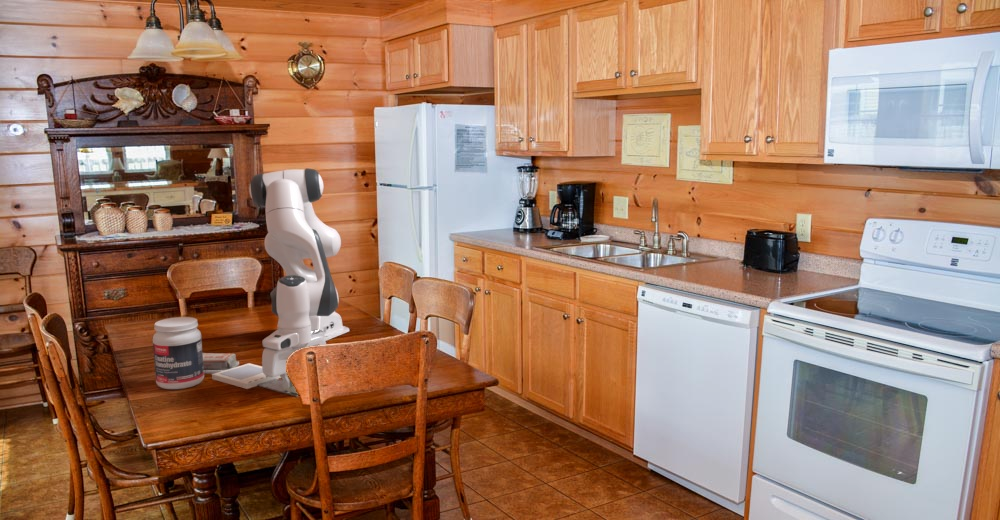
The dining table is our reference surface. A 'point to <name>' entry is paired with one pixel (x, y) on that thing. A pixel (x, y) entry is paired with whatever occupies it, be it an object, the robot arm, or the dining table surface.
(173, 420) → the dining table surface
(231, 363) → the packaged product
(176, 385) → the supplement tub
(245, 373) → the board
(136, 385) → the dining table surface
